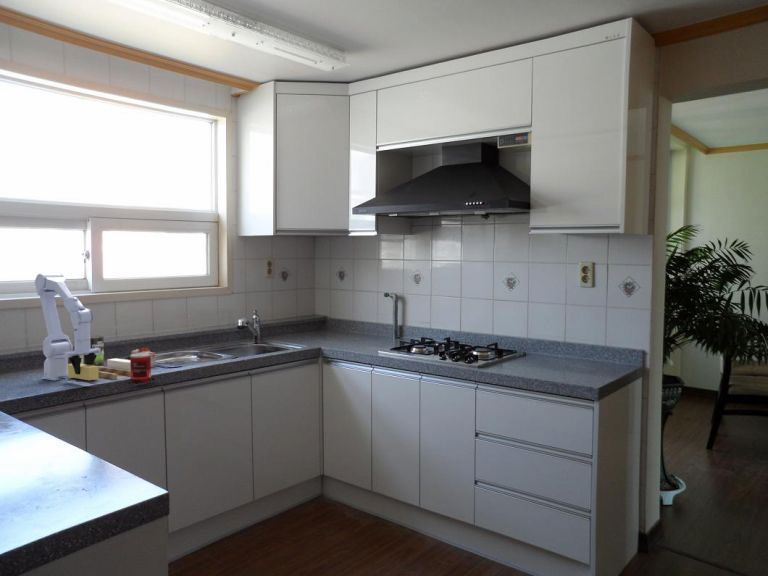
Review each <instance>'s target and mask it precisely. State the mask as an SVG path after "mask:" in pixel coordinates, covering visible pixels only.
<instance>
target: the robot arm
mask: <svg viewBox="0 0 768 576" xmlns="http://www.w3.org/2000/svg"><path fill="white" fill-rule="evenodd" d="M34 285H35V290H36V294H37V295H38V296H39V299H40V303H41V308H42V313H43V317H44V322H45V325H46V327H45V328H46V331H47V336H46V337H44V340H42V353H43V355H44V356H45V358H46V359H45V360H44V361H43V373H44V375H43V376H42V378H41V379H43V380H48V381H54V382H57V381H63V380H67V377H65V376H68V364H69V361H70V364H72V365H73V367H74V370H75V374H80V364H81V359H82V358H80V356H81V355H84V358H85V364H87V365H93V362H94V360H95V358H96V357H97V355H96V354H95V353H101V348H93V349H90V336H91V323H93V319H94V314H93V312H92V310H91V309H90V308H88V307H85V306H84V304H82V302H81V301H80V300H79V298H78V297H77V296H73V295H72V293H71V291H70V289H69V288H68V286H67V278H66V276H65V275H64V274H63V273H61V272H59V273H58V272H57V273H37V275H36V276H35V280H34ZM57 295H58V296H59V297H60V298H61V299H62V300H63V307H65V309H66V310H67V312H68V313H69V314H70V318H69V319H70V321H71V326H72V328H73V336H74V344H73V343H72V342H71V340H70V336H69V335H66V334H65V333H63V331H62V330H63V329H62V326H61V321H60V316H59V312H58V308H57V303H56V299H55V297H56V296H57ZM73 345H74V346H73ZM73 348H74V350H73ZM84 353H85V354H84Z"/></svg>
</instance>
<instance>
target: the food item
mask: <svg viewBox="0 0 768 576" xmlns="http://www.w3.org/2000/svg"><path fill="white" fill-rule="evenodd" d="M130 353H131V354H130V355H132V354H136V353H149V354H150V357H151V368H155V367H156V361H157V360H156V352H152V351H151V350H150V349H149V347H144V346H142V347H141V348H138V347H137V348H136V349H134V350H132V351H130Z"/></svg>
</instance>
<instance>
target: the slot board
mask: <svg viewBox="0 0 768 576" xmlns="http://www.w3.org/2000/svg"><path fill="white" fill-rule="evenodd" d="M98 373H99V378H104V379H109V380H119V379H123V378H131V371H129V370H122V369H116V368H109V367H107V366H103V365H101V366H98Z"/></svg>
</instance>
